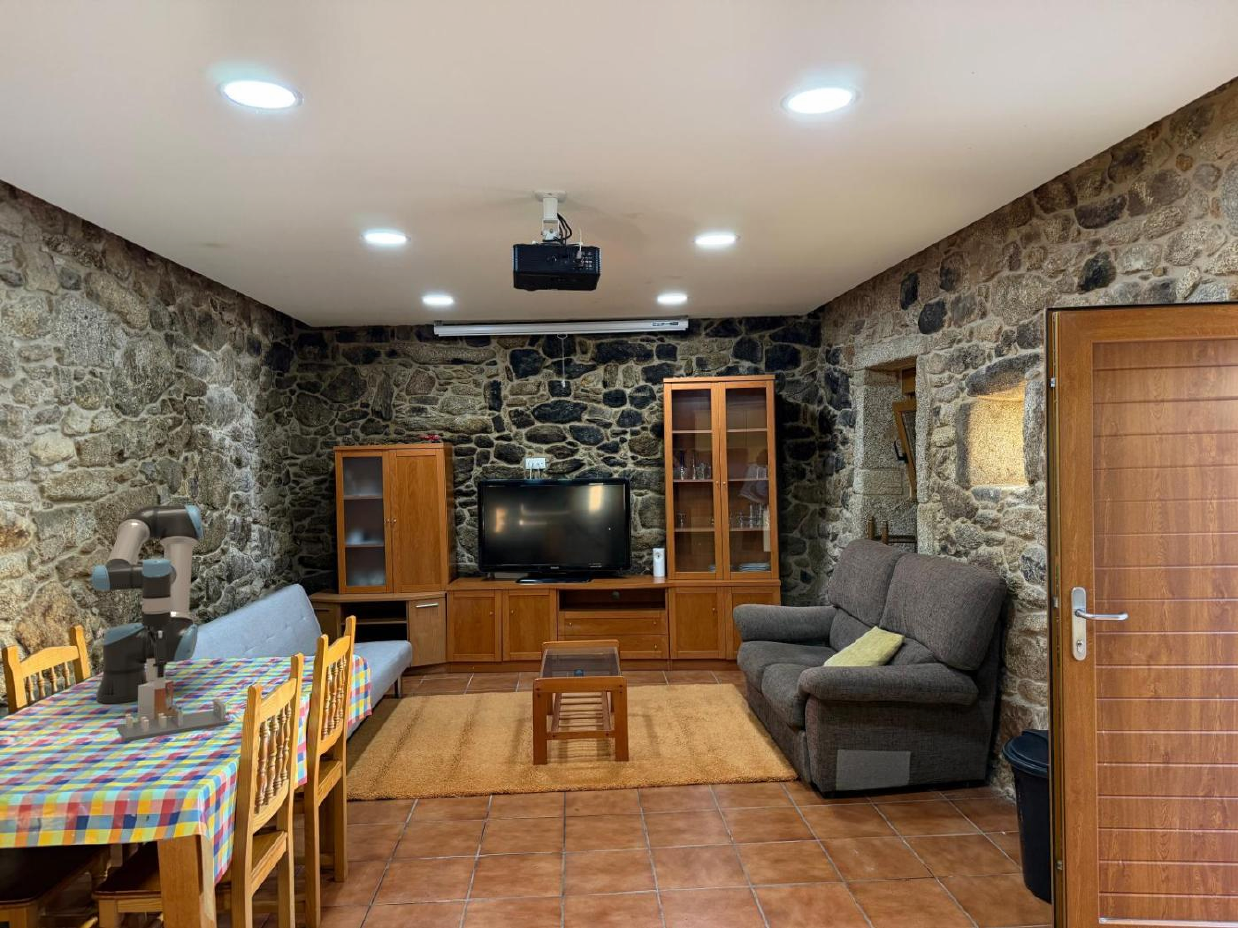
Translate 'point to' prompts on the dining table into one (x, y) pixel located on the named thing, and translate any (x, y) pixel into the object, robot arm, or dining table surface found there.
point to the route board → (167, 725)
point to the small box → (154, 700)
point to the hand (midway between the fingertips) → (155, 684)
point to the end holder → (218, 710)
